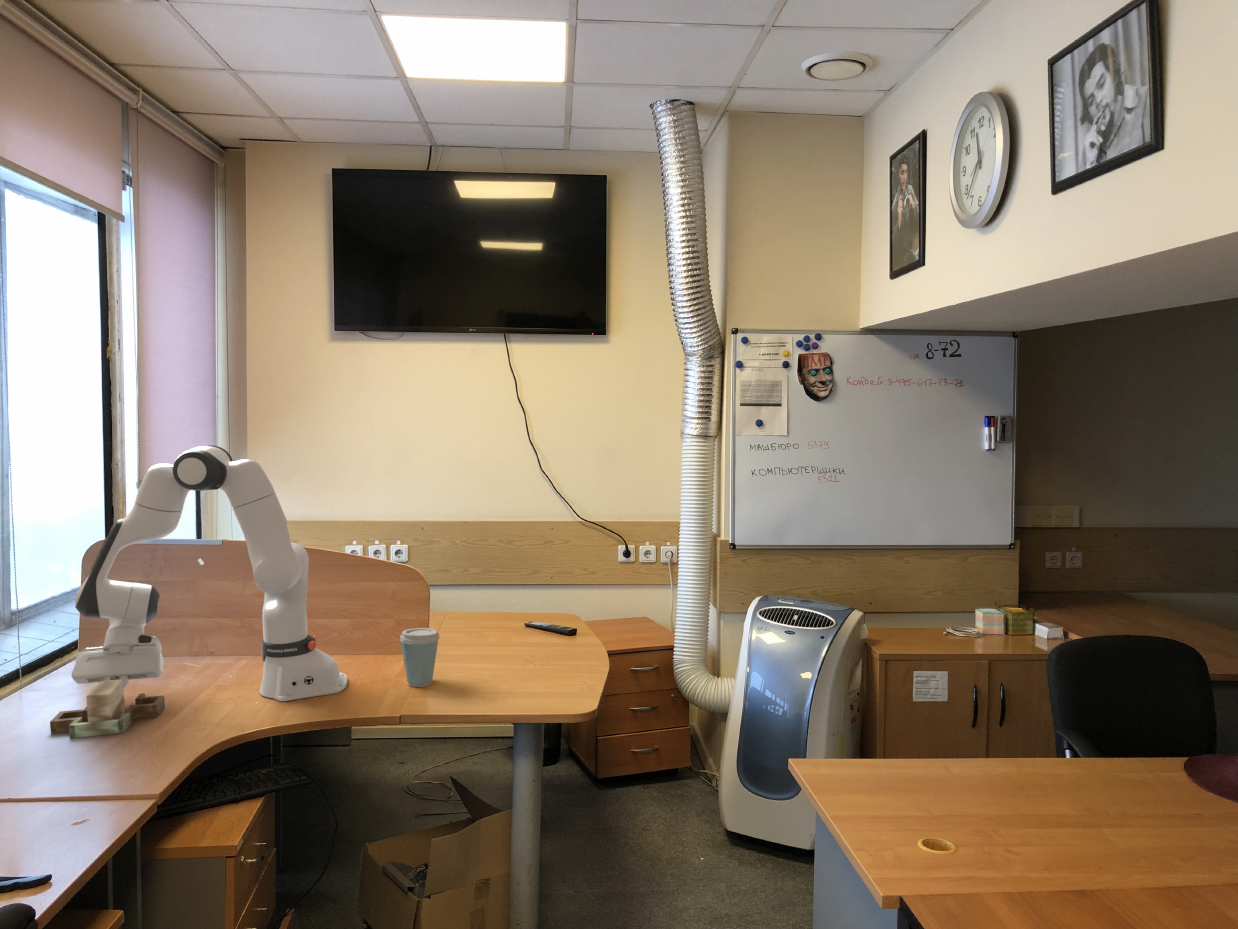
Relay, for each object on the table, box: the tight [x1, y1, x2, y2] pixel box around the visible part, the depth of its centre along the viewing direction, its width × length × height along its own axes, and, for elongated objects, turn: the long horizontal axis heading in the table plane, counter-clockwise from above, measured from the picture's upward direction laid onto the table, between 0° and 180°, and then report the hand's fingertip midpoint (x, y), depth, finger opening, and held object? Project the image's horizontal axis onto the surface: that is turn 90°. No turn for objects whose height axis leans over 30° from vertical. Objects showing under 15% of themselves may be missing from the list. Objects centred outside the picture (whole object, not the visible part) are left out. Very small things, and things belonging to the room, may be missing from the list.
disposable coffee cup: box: [399, 627, 440, 688], centre depth 232 cm, size 11×11×15 cm
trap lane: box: [49, 692, 166, 739], centre depth 208 cm, size 22×18×3 cm
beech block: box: [85, 679, 126, 722], centre depth 206 cm, size 5×10×9 cm, turn 15°
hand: (113, 695), depth 211 cm, fingers closed, pressing on beech block
